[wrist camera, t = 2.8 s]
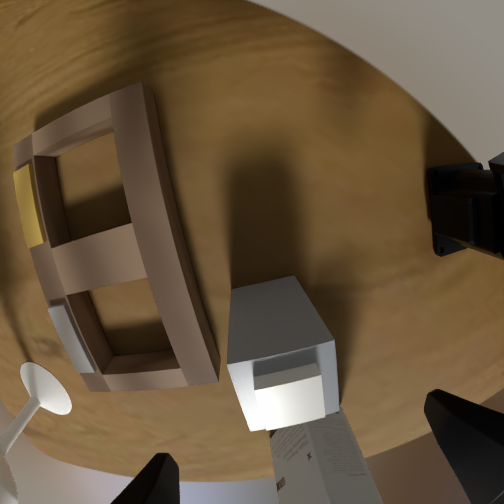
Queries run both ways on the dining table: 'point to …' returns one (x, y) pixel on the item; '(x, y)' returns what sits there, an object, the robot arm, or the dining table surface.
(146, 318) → the dining table surface
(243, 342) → the plug
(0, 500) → the champagne flute
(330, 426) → the skincare box
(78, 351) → the brown wooden flat frame
